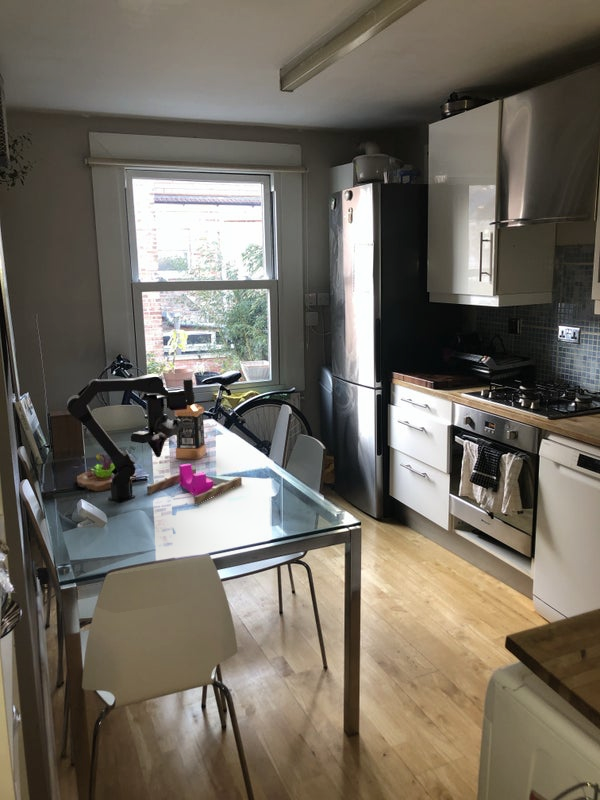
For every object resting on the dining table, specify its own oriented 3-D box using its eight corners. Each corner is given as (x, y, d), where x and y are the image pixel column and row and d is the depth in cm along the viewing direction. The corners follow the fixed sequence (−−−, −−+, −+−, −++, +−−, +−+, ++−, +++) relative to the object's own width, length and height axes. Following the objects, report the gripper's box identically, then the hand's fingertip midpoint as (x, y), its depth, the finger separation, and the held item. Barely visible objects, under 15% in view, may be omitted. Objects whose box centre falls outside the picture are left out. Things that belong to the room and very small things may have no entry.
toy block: (213, 493, 221) (212, 472, 220) (196, 497, 218) (195, 476, 217) (196, 482, 234) (195, 462, 232) (180, 485, 231) (179, 465, 229)
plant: (66, 483, 235) (64, 453, 233) (113, 470, 250) (111, 442, 247) (97, 495, 222) (95, 463, 220) (144, 480, 237) (142, 451, 235)
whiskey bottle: (207, 452, 271) (203, 377, 265) (199, 459, 261) (195, 381, 255) (183, 451, 273) (179, 377, 267) (175, 458, 263) (170, 381, 257)
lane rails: (197, 504, 210) (197, 496, 210) (147, 493, 222) (146, 485, 222) (241, 483, 230) (241, 476, 230) (193, 474, 242) (193, 466, 242)
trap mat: (227, 488, 226) (227, 486, 226) (186, 479, 236) (186, 478, 236) (238, 483, 231) (238, 482, 231) (196, 475, 241) (196, 474, 241)
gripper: (153, 420, 204) (156, 467, 207) (192, 409, 220) (194, 453, 223) (128, 416, 210) (131, 462, 213) (168, 406, 225) (170, 449, 228)
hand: (158, 457), depth 219 cm, fingers closed
